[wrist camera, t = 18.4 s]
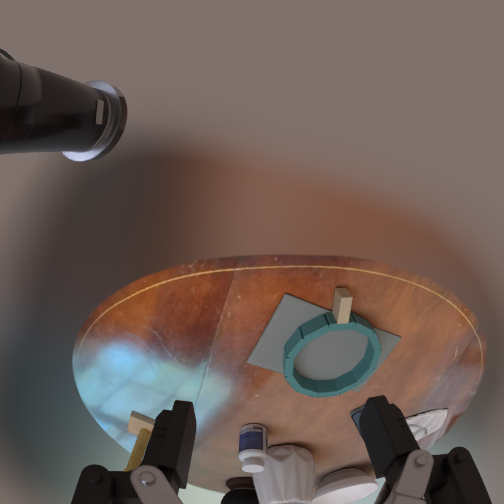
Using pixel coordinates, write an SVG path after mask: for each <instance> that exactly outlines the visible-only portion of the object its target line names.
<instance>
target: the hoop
mask: <svg viewBox="0 0 504 504" xmlns="http://www.w3.org/2000/svg"><path fill="white" fill-rule="evenodd" d="M352 299H353V297H352V296H351V294H350V293H349V291H348V290H347V288H335V295H334V302H333V310H332V312H331V313H325V316H324V314H321V315H319V316H317V317H315V318H313V319H311V320H309V321H307V322H305V323H303V324H301V327H298V328H297V329H296V331H295V332H294V333H293V334H292V336H291V337H290V338H289V340H288V341H287V342H286V343H285V346H284V354H283V369H284V376H285V379H286V380H287V381H288V382H289V384H290V385H291V386H292V388H293V389H294V390H295V391H296V392H299V393H302V394H305V395H308V396H311V397H315V396H316V398H319V397H329V396H337V395H338V394H339V395H340V394H343V393H345V392H347V391H349V390H351V389H353V388H355V387H357V386H359V384H362V383H363V382H364V381H365V379H366V378H367V377H368V376H369V375H370V374H371V373H372V372H373V371H374V370H375V368H376V366H377V363H378V360H379V357H380V354H381V351H382V350H381V349H382V348H381V345H380V342H379V340H378V337H377V334H376V332H375V331H374V329H373V328H372V326H371V324H370V323H369V322H368V321H367V320H365V319H363V318H362V317H360V316H358V315H356V314H354V313H352V312H350V311H351V305H352ZM340 330H355V331H357V332H359V333H361V334H363V335H365V336H367V339H368V344H367V348H366V352H365V356H364V357H363V359H362V360H361V361H360V362H359V363H358V364H357V365H356V366H355V367H354V368H353V369H352V370H351V371H349V372H347V373H345V374H343V375H341V376H339V377H337V378H335V379H330V380H318V381H314V380H312V379H309V378H306V377H303V376H301V375H299V374H298V372H297V371H296V370H295V368H294V358H295V357H296V356H297V355H298V354H299V352H300V351H301V350H302V349H303V348H304V346H305V345H306V344H307V343H308V342H309V341H311V340H314V339H316V338H318V337H320V336H322V335H324V334H326V333H327V332H329V331H340Z"/></svg>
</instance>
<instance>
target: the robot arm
mask: <svg viewBox="0 0 504 504" xmlns="http://www.w3.org/2000/svg"><path fill="white" fill-rule="evenodd" d="M0 53H1V54H3V55H4V56H5V57H7V58H8V59H6V58H4V57H3V56H1V55H0V155H2V154H11V153H12V154H13V153H30V152H76V153H81V152H86V151H89V150H91V149H92V148H94V147H95V146H96V145H97V144H98V143H99V142H100V141H101V140H102V139H103V137H104V136H105V134H106V132H107V130H108V128H109V125H110V122H111V117H112V106H111V102H110V99H109V97H108V96H107V94H106V93H105V92H103V91H102V90H100V89H97V88H93V87H90V86H88V85H85V84H83V83H80V82H78V81H74V80H72V79H69V78H67V77H64V76H61V75H58V74H55V73H52V72H49V71H46V70H43V69H40V68H37V67H33V66H30V65H26V64H23V63H19V62H16V61H15V60H14V59H13V58H12V57H11V56H10V55H9V54H8V53H6V52H5V51H4V50H2V49H0ZM404 418H405V417H404V416H403V414H402V412H401V410H400V409H399V408H398V407H397V406H396V405H394V404H389V403H388V401H387V399H386V397H385V396H384V395H382V396H376V397H370V398H368V399H367V401H366V404H365V406H364V408H363V410H362V413H361V415H360V417H359V428H360V431H361V434H362V437H363V439H364V442H365V445H366V448H367V451H368V454H369V457H370V460H371V463H372V466H373V469H374V472H375V475H376V478H377V479H378V478H382V477H385V479H386V481H385V483H384V485H383V487H382V489H381V491H380V493H379V495H378V497H377V499H376V501H375V503H374V504H492V503H491V500H490V498H489V495H488V492H487V490H486V488H485V485H484V483H483V481H482V478H481V476H480V474H479V471H478V469H477V467H476V465H475V463H474V461H473V459H472V456H471V455H470V453H469V451H468V450H467V449H466V448H464V447H455V448H453V449H452V450H451V451H450V452H449V453H448V454H441V455H431V454H430V453H429V452H428V451H426V450H421V449H420V447H419V446H418V443H417V441H416V439H415V437H414V435H413V433H412V431H411V429H410V427H409V426H408V423H407V421H406V419H404ZM195 434H196V418H195V413H194V407H193V403H192V402H188V401H180V400H176V401H175V402H174V405H173V409H172V411H171V410H163V411H162V412H161V413H160V414H159V415H158V416H157V417H156V420H155V423H154V428H153V429H152V432H151V436H150V439H149V442H148V445H147V448H146V451H145V454H144V457H143V460H142V462H141V464H140V465H139V466H138V467H137V468H135V469H133V470H130V471H108V470H107V469H106V468H104V467H103V466H100V465H95V464H94V465H89V466H87V467H85V468H84V469H83V470H82V472H81V475H80V478H79V481H78V484H77V487H76V490H75V493H74V496H73V499H72V502H71V504H183V503H182V501H181V500H180V498H179V497H178V491H179V488H182V489H186V485H187V479H188V473H189V468H190V462H191V456H192V451H193V445H194V440H195ZM423 496H424V498H425V499H423Z"/></svg>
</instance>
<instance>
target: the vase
mask: <svg viewBox="0 0 504 504" xmlns="http://www.w3.org/2000/svg"><path fill="white" fill-rule="evenodd" d="M264 464H265V465H264V470H263V471H261V472H256V473H252V478H253V482H254V485H255V489H256V493H257V496H258V500H259V504H312V500H313V494H314V487H315V479H316V466H315V463H314V459H313V456H312V454H311V453H310V452H309V451H308V450H307V449H305V448H302V447H298V446H295V445H291V444H290V445H281V446H272V447H270V448H268V458H267V460H266V461H265V462H264Z"/></svg>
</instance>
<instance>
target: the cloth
mask: <svg viewBox="0 0 504 504" xmlns="http://www.w3.org/2000/svg"><path fill="white" fill-rule="evenodd" d="M447 412H448V409H447V408H446V409H445V410H443V409H437V410H432V411H429V412H425V413H422V414H417V415H415V416H413V417H408V418H405V419H406V421H407V423H408V426H409V427H410V429H411V431H412V433H413V435H414V437H415V439H416V441H418V440H419V439H421V438H422V437H424V436H425V435H429V434H431V433H433V432H435V431H436V430H437V429H439V428H440V427H441V426H442V425H443V423H444V421H445V419H446V416H447Z"/></svg>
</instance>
